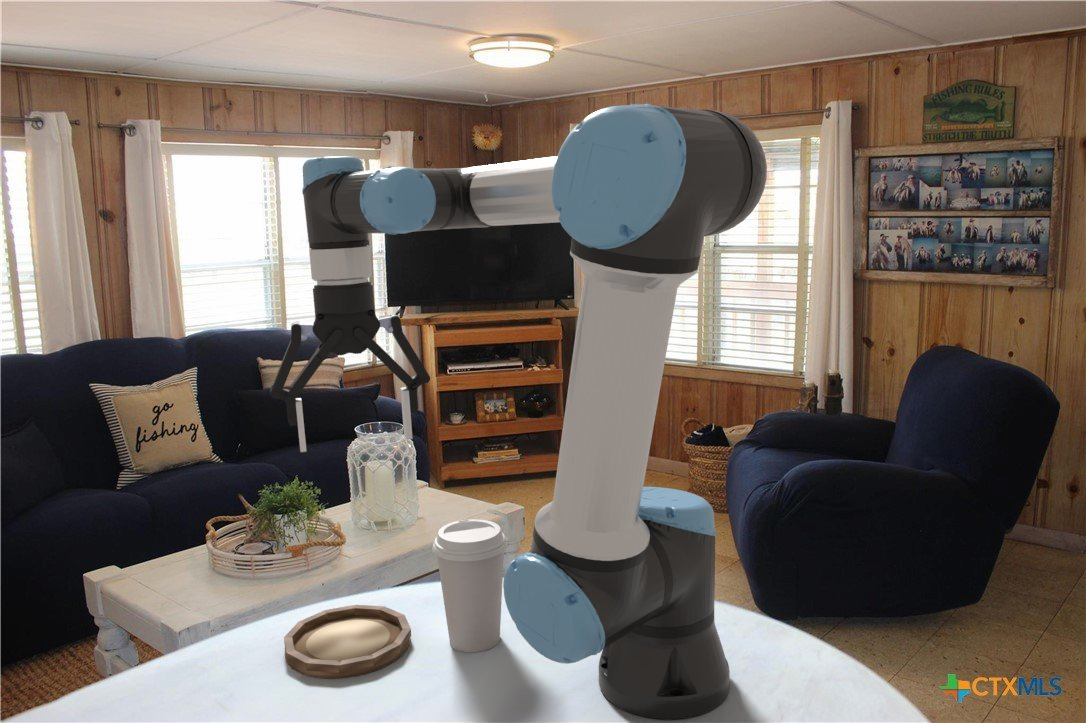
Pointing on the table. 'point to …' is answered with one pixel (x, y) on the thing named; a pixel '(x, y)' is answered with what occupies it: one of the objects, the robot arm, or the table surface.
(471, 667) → the table surface
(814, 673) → the table surface
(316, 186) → the robot arm
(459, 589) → the coffee cup
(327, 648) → the polygonal wooden dish
